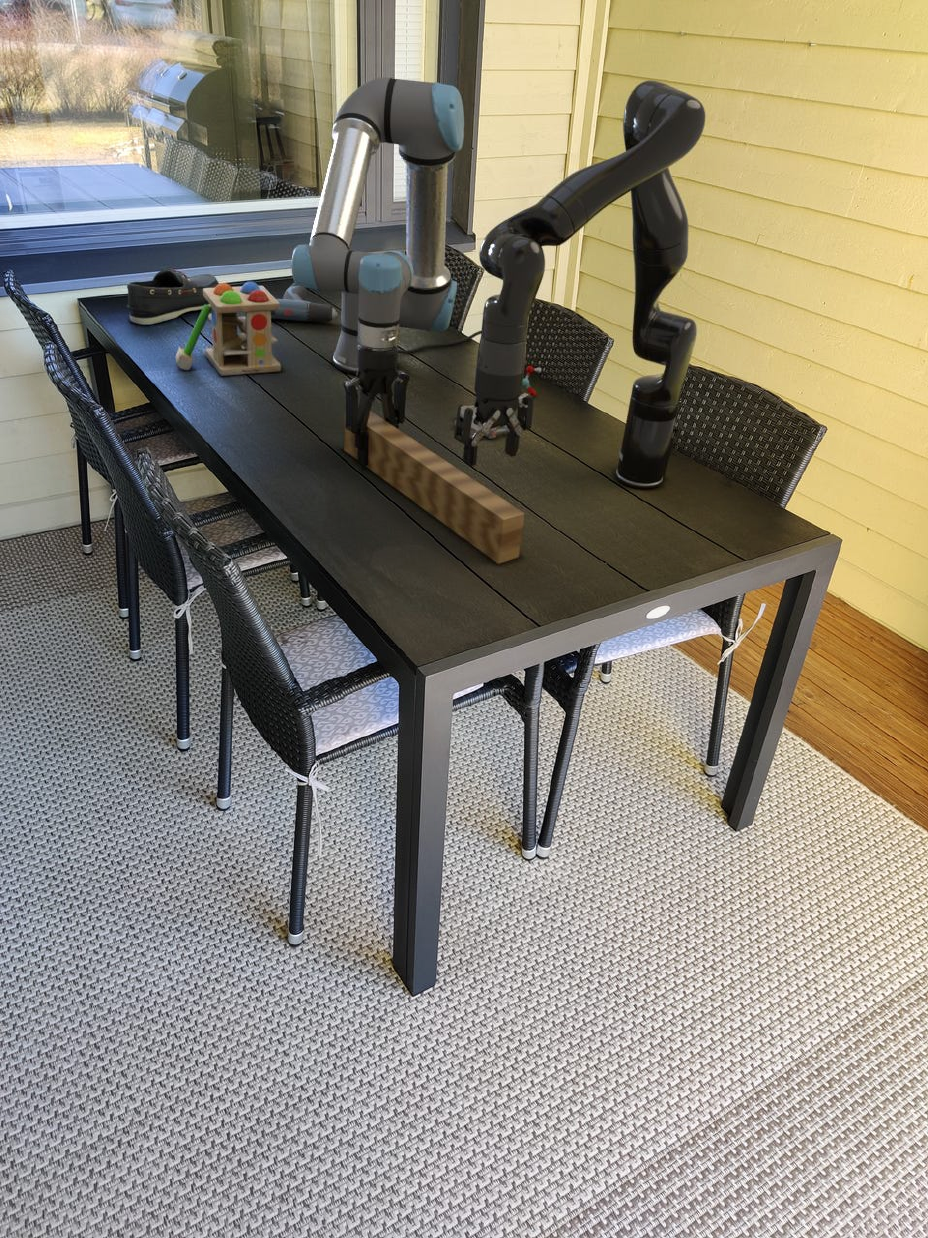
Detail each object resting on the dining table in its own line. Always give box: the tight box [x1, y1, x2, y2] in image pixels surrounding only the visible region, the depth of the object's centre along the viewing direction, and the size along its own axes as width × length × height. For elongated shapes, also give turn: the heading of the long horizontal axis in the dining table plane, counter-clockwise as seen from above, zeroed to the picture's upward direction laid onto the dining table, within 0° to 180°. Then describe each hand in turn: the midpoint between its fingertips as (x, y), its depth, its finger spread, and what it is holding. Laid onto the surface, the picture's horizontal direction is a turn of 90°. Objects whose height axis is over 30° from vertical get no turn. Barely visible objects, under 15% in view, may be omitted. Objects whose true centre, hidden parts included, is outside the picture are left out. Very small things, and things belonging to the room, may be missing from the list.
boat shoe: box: [126, 268, 220, 325], centre depth 258 cm, size 13×33×10 cm, turn 147°
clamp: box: [454, 414, 522, 439], centre depth 210 cm, size 15×2×10 cm
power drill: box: [271, 282, 338, 322], centre depth 265 cm, size 5×19×20 cm
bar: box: [343, 410, 525, 565], centre depth 180 cm, size 50×5×8 cm, turn 37°
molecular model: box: [522, 365, 542, 398], centre depth 227 cm, size 12×10×10 cm
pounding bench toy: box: [174, 281, 282, 377], centre depth 225 cm, size 23×14×18 cm, turn 116°
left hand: (374, 460), depth 193 cm, fingers closed on bar, 5 cm apart
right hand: (490, 459), depth 163 cm, fingers open, 8 cm apart
